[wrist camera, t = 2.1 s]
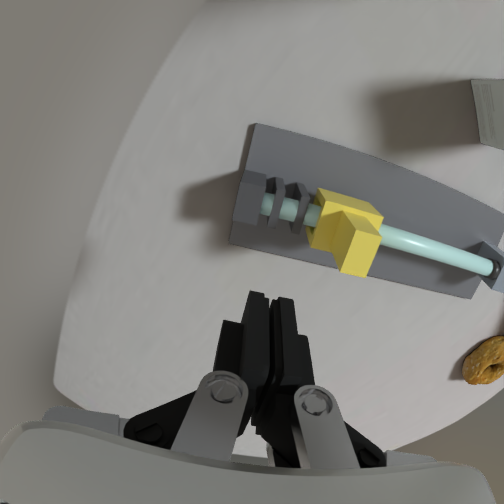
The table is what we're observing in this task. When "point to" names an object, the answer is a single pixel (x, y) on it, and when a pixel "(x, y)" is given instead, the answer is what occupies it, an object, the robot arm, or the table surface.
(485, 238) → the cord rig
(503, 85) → the supplement box
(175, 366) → the table surface
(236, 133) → the table surface
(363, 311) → the table surface
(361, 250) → the sleeve
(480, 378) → the bagel
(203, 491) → the robot arm
